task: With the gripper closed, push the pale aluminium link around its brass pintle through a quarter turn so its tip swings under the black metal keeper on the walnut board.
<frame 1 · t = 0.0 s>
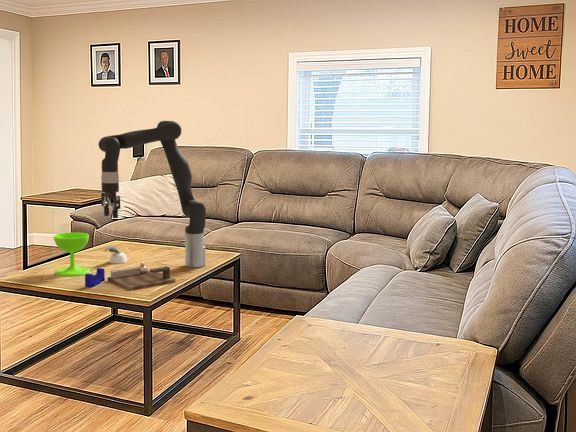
hand: (110, 217, 284), 29 cm above the table, fingers open, 8 cm apart
inkwell: (114, 264, 320), on the table
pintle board: (141, 281, 287), on the table
cable clip: (93, 284, 281), on the table
link: (129, 269, 291), point 4 cm above the table, hinge at 0.0°
wineglass: (72, 272, 300), on the table
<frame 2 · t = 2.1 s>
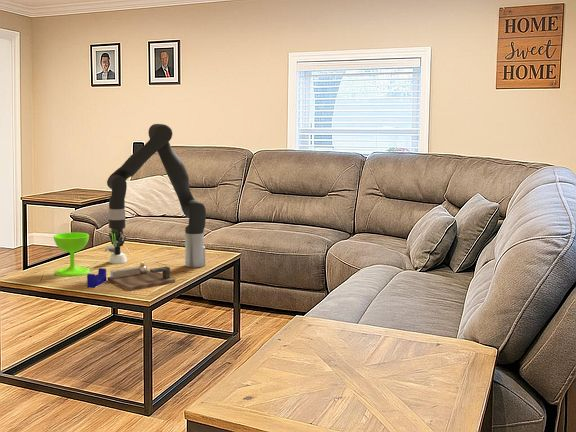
hand: (117, 254, 294), 10 cm above the table, fingers closed
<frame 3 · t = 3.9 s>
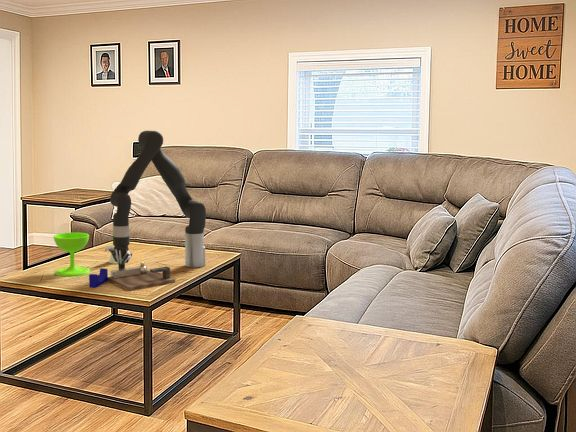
hand: (121, 271, 292), 3 cm above the table, fingers closed
link: (129, 269, 291), point 4 cm above the table, hinge at 0.3°, touching gripper
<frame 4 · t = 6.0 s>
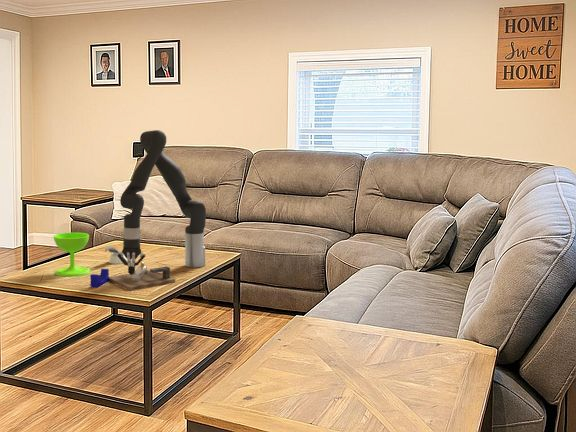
hand: (131, 274, 287), 3 cm above the table, fingers closed
link: (139, 271, 289), point 4 cm above the table, hinge at 49.5°, touching gripper
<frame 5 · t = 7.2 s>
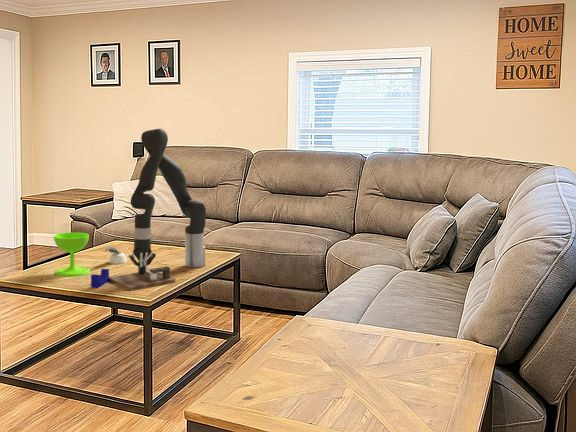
hand: (142, 274, 287), 3 cm above the table, fingers closed
link: (147, 270, 290), point 4 cm above the table, hinge at 79.8°, touching gripper
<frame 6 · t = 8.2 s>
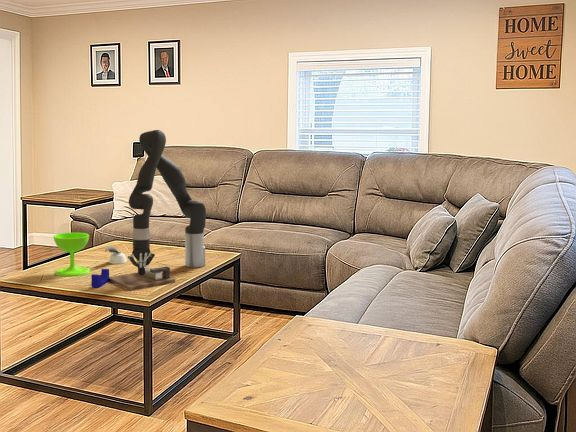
hand: (141, 275, 285), 3 cm above the table, fingers closed
link: (149, 270, 290), point 4 cm above the table, hinge at 88.4°
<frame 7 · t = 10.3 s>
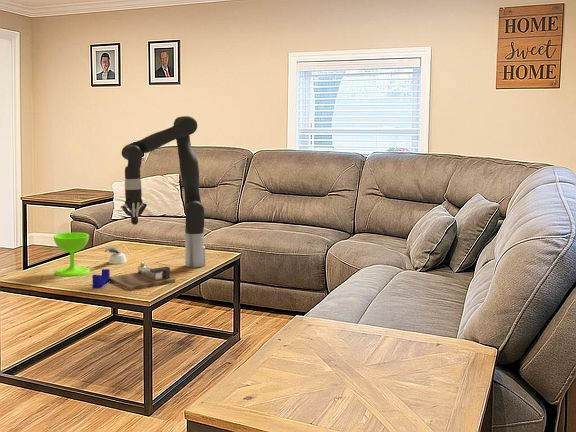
hand: (134, 224, 296), 24 cm above the table, fingers closed
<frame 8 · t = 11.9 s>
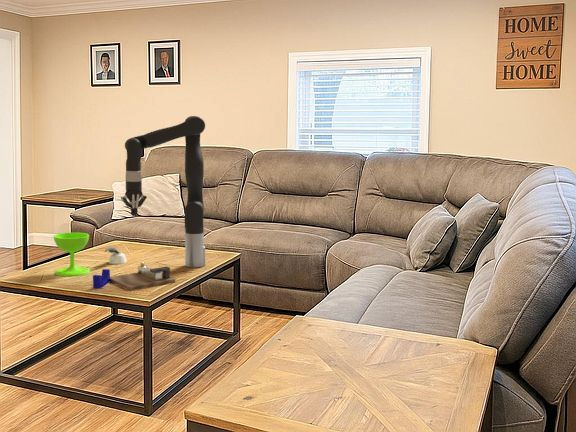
hand: (134, 215, 303), 27 cm above the table, fingers closed
at the end: link at +88° (first picture: +0°) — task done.
